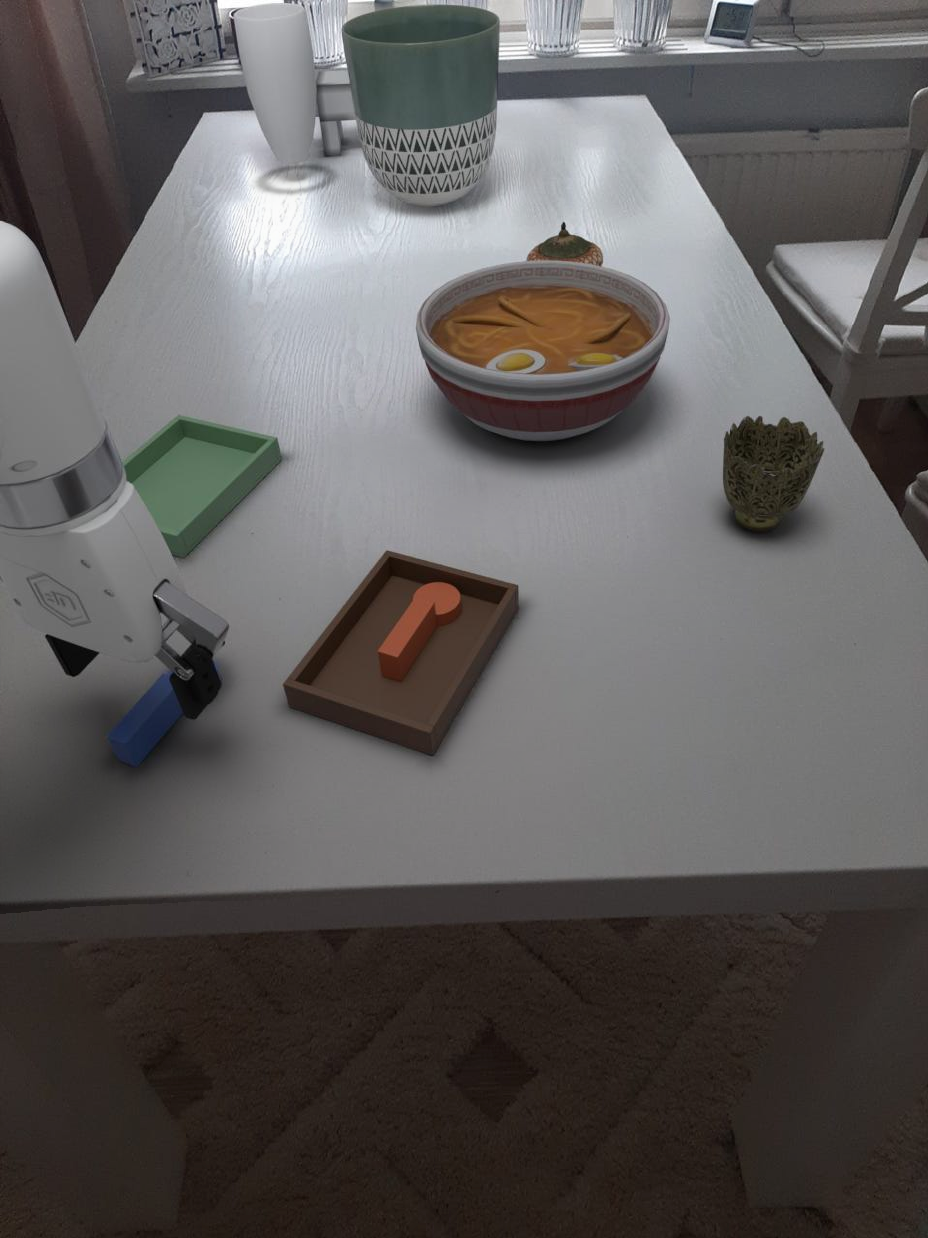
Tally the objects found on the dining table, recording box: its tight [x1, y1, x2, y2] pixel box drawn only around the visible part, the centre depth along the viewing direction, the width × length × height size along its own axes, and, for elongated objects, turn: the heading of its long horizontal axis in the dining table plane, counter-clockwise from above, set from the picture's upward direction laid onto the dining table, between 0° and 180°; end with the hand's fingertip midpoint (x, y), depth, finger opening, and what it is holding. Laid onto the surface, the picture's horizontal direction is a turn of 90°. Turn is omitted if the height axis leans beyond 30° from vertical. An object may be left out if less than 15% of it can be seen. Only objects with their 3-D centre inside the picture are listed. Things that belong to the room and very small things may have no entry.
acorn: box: [525, 221, 604, 267], centre depth 102 cm, size 8×8×10 cm
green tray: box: [121, 414, 283, 559], centre depth 83 cm, size 15×11×2 cm
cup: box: [233, 2, 317, 165], centre depth 132 cm, size 10×10×22 cm
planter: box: [341, 4, 501, 207], centre depth 124 cm, size 20×20×21 cm
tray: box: [282, 550, 520, 756], centre depth 68 cm, size 15×11×2 cm
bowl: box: [415, 260, 671, 442], centre depth 88 cm, size 23×23×10 cm
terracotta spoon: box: [378, 582, 461, 682], centre depth 68 cm, size 10×4×3 cm, turn 156°
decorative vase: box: [722, 415, 825, 533], centre depth 75 cm, size 8×7×8 cm
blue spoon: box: [106, 659, 222, 768], centre depth 64 cm, size 10×4×3 cm, turn 156°
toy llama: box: [316, 0, 396, 157], centre depth 142 cm, size 8×18×20 cm, turn 92°
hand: (144, 681), depth 62 cm, fingers open, 9 cm apart
